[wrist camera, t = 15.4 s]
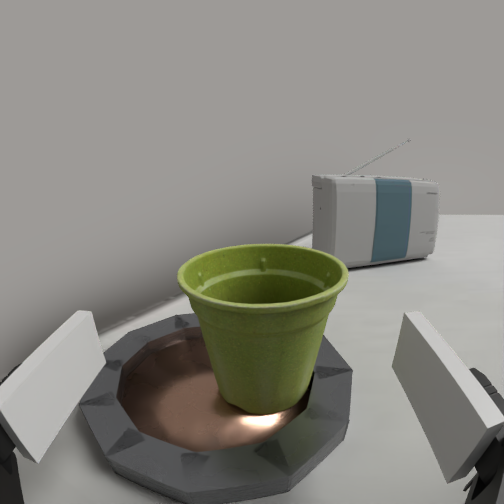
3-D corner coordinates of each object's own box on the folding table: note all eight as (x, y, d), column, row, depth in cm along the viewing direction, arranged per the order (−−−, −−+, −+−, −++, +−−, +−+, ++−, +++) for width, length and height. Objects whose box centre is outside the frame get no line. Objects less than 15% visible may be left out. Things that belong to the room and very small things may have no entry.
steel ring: (351, 339, 25) (353, 322, 25) (327, 534, 9) (334, 523, 8) (169, 315, 30) (167, 300, 30) (45, 428, 14) (34, 410, 13)
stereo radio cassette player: (329, 276, 40) (331, 122, 34) (306, 258, 48) (306, 128, 42) (435, 260, 44) (443, 139, 38) (406, 247, 52) (411, 139, 46)
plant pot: (356, 412, 16) (383, 286, 14) (204, 448, 14) (179, 316, 11) (301, 339, 25) (306, 239, 22) (189, 356, 23) (175, 250, 20)
